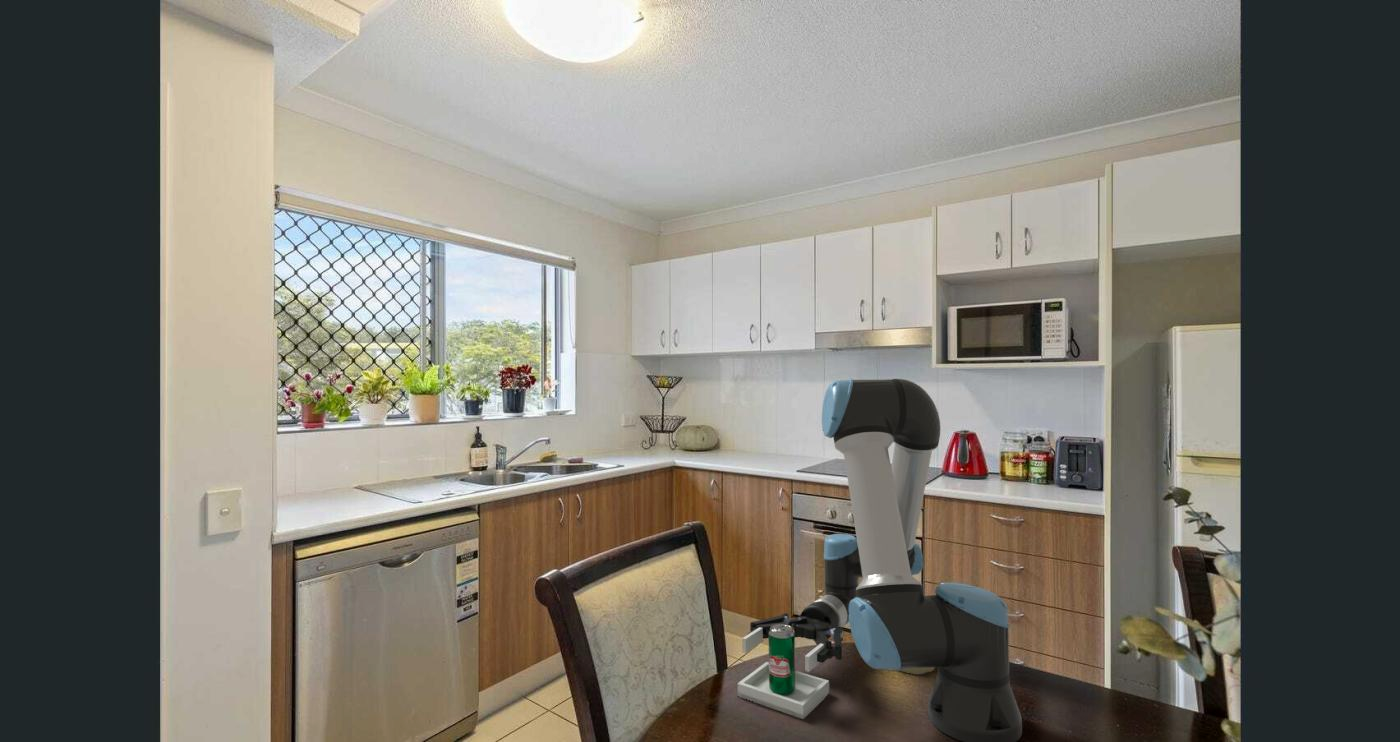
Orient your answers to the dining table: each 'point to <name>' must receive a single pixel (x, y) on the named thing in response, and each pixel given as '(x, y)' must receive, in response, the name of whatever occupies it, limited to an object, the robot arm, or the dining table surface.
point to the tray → (795, 704)
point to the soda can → (781, 659)
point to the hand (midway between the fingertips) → (774, 654)
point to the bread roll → (917, 670)
